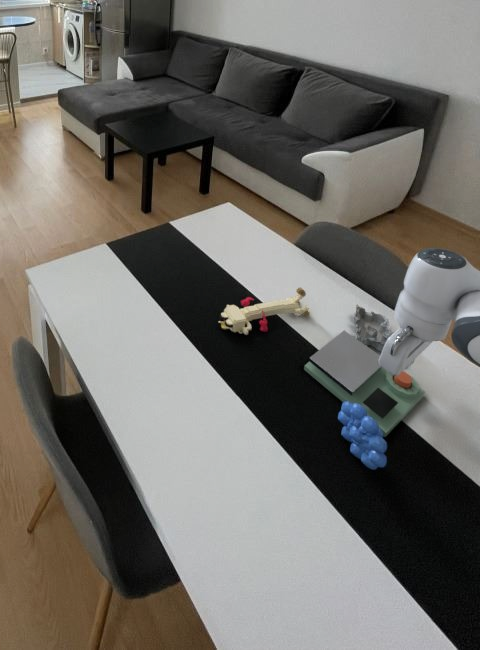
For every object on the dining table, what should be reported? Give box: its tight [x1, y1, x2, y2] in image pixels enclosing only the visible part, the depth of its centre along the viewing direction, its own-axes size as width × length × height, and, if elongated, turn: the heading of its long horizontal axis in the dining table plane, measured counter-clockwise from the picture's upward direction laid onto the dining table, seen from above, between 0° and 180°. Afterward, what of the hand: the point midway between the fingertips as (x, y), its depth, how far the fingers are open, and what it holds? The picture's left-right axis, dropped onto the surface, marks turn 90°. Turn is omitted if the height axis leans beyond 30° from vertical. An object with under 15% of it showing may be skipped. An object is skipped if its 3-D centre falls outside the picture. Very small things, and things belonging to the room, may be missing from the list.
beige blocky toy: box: [217, 287, 310, 336], centre depth 115 cm, size 10×9×25 cm
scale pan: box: [308, 330, 398, 419], centre depth 97 cm, size 16×14×1 cm
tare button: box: [394, 370, 412, 389], centre depth 95 cm, size 3×3×2 cm
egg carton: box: [353, 304, 391, 353], centre depth 109 cm, size 11×8×4 cm
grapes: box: [337, 401, 388, 471], centre depth 83 cm, size 12×7×12 cm, turn 3°
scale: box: [303, 361, 426, 438], centre depth 98 cm, size 18×16×3 cm
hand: (405, 364), depth 93 cm, fingers closed
